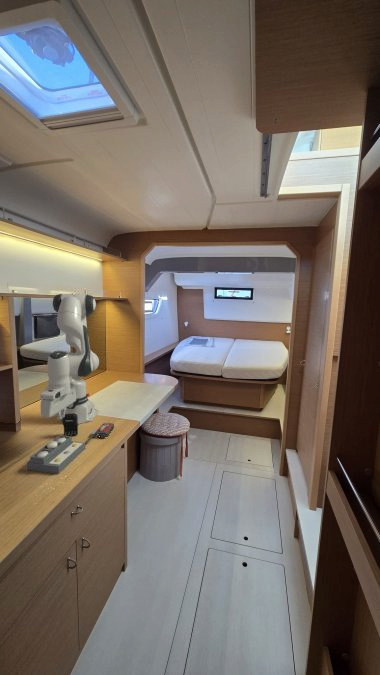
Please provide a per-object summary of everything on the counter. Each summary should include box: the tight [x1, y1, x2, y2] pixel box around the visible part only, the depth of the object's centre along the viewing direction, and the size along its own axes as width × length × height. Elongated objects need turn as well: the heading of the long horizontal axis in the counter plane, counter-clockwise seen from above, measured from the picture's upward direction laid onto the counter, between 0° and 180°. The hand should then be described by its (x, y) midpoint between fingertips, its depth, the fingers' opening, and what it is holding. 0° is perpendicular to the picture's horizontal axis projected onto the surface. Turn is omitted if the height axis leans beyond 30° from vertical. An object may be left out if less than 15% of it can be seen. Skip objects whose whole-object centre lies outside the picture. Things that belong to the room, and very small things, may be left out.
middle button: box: [46, 440, 58, 450], centre depth 116 cm, size 4×4×2 cm
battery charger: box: [62, 413, 79, 437], centre depth 136 cm, size 7×4×11 cm, turn 99°
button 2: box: [56, 438, 66, 443], centre depth 122 cm, size 4×4×2 cm
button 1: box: [37, 451, 48, 457], centre depth 110 cm, size 4×4×2 cm
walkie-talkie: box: [84, 422, 115, 445], centre depth 137 cm, size 9×4×20 cm
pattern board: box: [26, 434, 86, 475], centre depth 116 cm, size 19×14×6 cm
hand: (60, 418), depth 121 cm, fingers closed
